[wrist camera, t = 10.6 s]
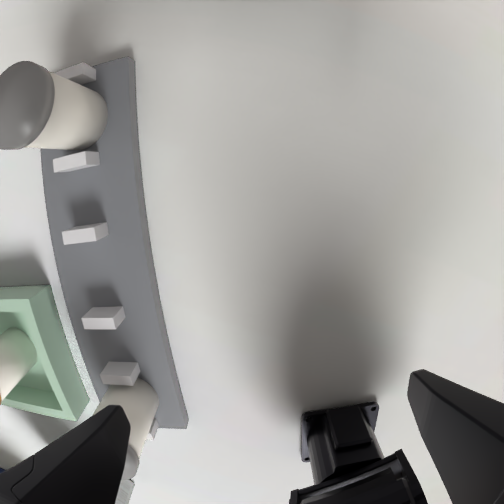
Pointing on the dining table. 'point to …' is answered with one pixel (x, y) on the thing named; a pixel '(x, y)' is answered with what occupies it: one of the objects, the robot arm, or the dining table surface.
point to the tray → (42, 355)
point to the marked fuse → (14, 359)
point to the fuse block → (99, 232)
